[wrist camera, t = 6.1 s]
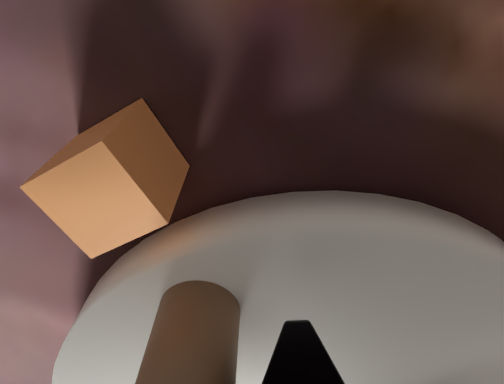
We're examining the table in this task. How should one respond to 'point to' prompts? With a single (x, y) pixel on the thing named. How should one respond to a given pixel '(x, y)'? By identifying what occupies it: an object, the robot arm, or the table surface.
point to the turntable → (298, 295)
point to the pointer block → (112, 181)
